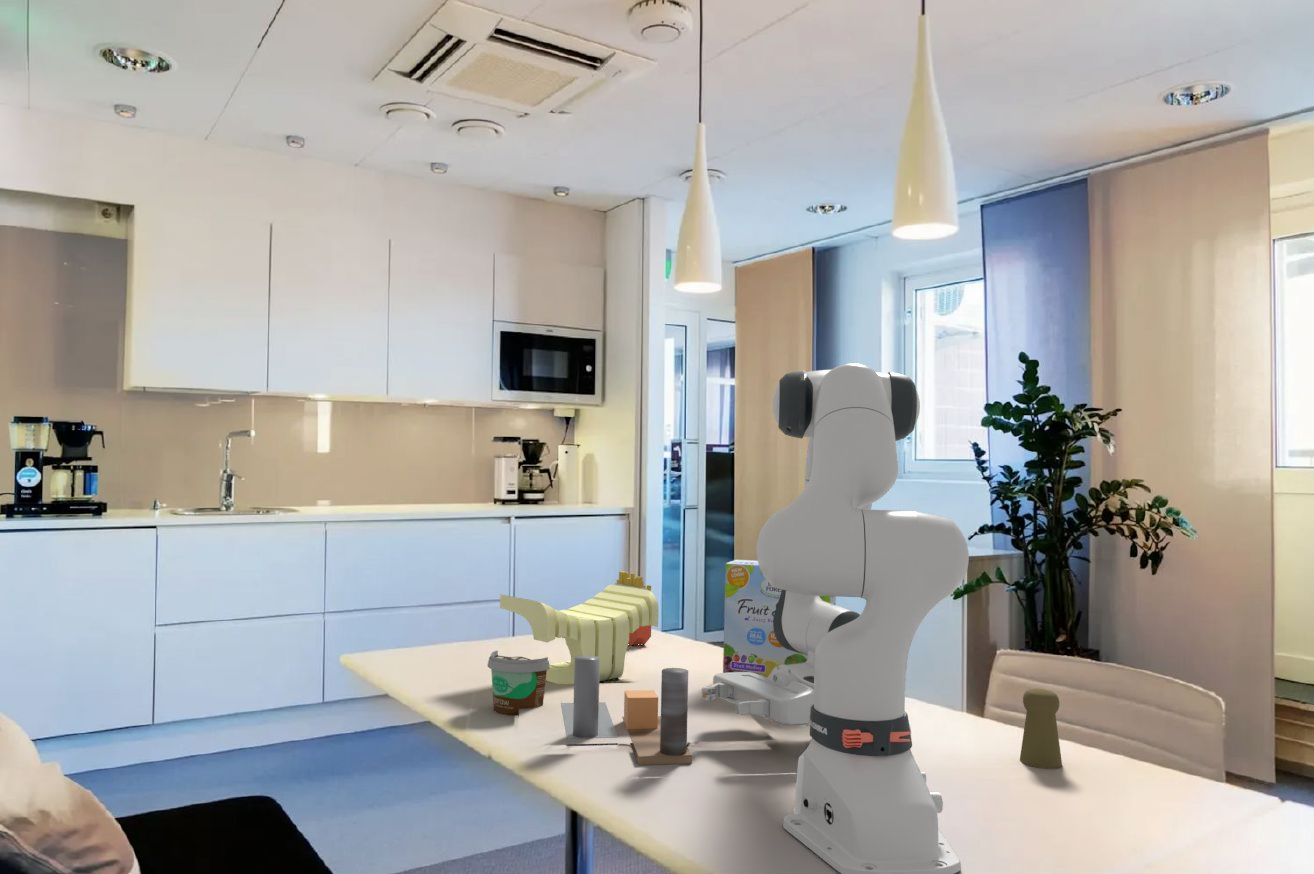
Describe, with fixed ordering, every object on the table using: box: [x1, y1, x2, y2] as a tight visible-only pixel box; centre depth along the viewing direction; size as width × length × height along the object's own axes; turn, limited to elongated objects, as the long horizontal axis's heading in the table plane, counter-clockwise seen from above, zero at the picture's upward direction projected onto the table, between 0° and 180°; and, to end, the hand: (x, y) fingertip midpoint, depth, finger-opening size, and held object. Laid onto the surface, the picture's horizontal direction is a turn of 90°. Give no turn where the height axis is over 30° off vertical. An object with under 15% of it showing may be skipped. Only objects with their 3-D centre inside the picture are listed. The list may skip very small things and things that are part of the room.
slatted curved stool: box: [499, 584, 659, 685], centre depth 189 cm, size 30×16×18 cm, turn 135°
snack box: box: [722, 559, 837, 677], centre depth 181 cm, size 22×9×26 cm, turn 71°
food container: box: [487, 650, 550, 717], centre depth 160 cm, size 12×6×10 cm, turn 62°
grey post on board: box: [621, 667, 693, 766], centre depth 144 cm, size 22×8×13 cm, turn 9°
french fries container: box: [614, 570, 652, 646], centre depth 230 cm, size 5×11×18 cm, turn 36°
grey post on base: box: [560, 656, 619, 747], centre depth 152 cm, size 22×8×13 cm, turn 9°
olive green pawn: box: [1019, 688, 1063, 770], centre depth 139 cm, size 6×6×11 cm
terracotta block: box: [623, 689, 659, 730], centre depth 150 cm, size 5×5×5 cm
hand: (719, 700), depth 139 cm, fingers open, 8 cm apart
